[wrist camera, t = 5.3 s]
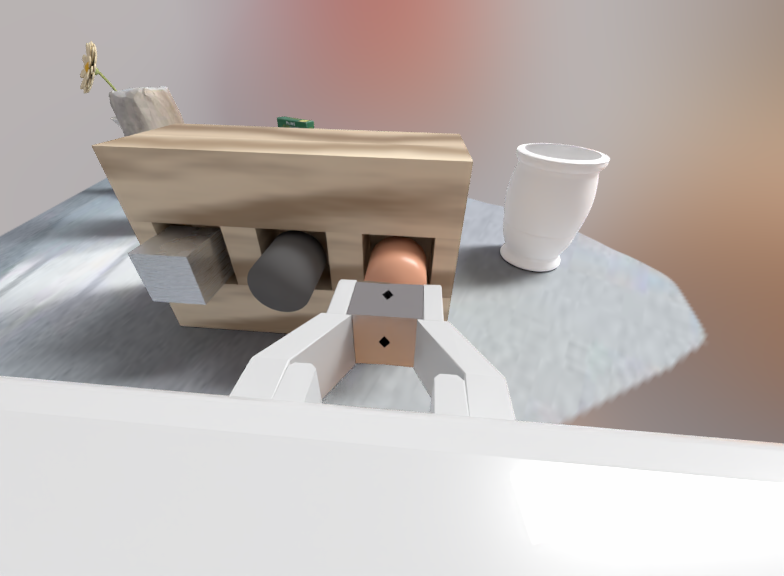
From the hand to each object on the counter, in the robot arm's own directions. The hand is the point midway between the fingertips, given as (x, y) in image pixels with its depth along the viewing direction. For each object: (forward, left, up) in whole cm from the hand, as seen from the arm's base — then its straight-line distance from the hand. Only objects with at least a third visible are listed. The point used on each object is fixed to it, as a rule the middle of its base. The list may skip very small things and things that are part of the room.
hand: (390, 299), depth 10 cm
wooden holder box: (+18, +15, -18) cm, 29 cm away
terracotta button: (+14, +4, -11) cm, 18 cm away
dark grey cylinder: (+11, +13, -11) cm, 21 cm away
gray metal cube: (+9, +22, -11) cm, 26 cm away
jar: (+39, -8, -18) cm, 43 cm away
